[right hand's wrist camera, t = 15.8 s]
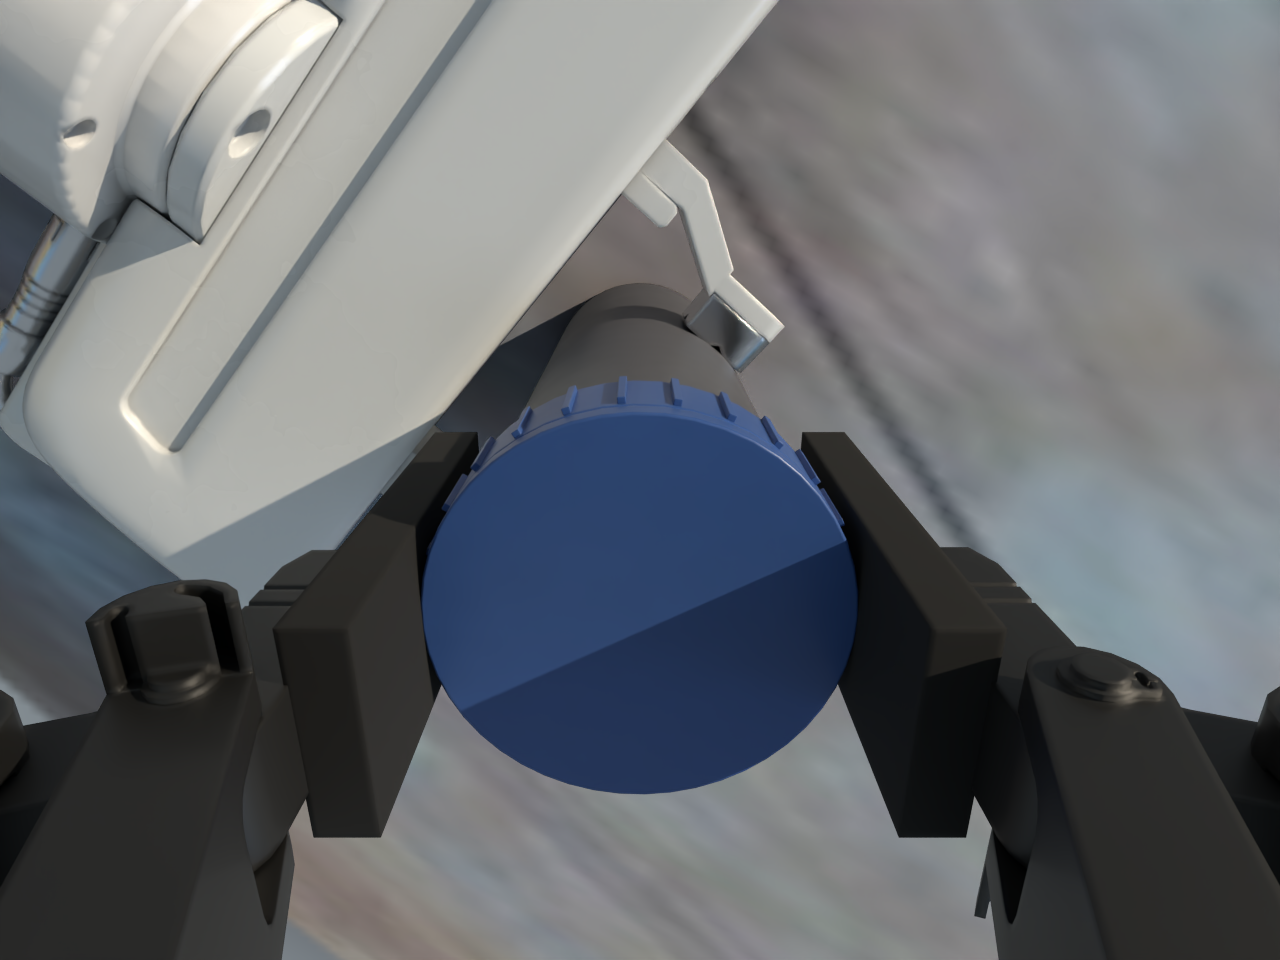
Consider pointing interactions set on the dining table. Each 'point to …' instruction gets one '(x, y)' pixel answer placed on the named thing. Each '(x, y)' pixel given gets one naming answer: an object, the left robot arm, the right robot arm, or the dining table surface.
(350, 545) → the right robot arm
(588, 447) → the lid
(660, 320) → the jar
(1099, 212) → the dining table surface
